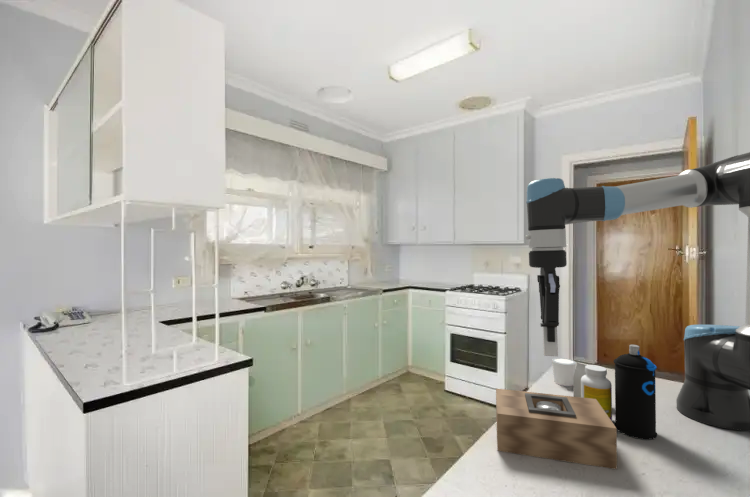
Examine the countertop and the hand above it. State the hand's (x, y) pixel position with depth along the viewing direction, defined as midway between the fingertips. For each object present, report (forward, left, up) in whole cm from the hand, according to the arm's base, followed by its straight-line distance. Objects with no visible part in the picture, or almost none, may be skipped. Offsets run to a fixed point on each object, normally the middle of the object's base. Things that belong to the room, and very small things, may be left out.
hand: (550, 355), depth 79 cm
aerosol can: (-19, -11, -20) cm, 30 cm away
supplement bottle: (-12, -15, -20) cm, 28 cm away
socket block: (+1, 0, -19) cm, 19 cm away
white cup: (-9, -39, -20) cm, 44 cm away
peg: (+1, 0, -19) cm, 19 cm away
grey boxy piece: (-13, -26, -20) cm, 35 cm away
